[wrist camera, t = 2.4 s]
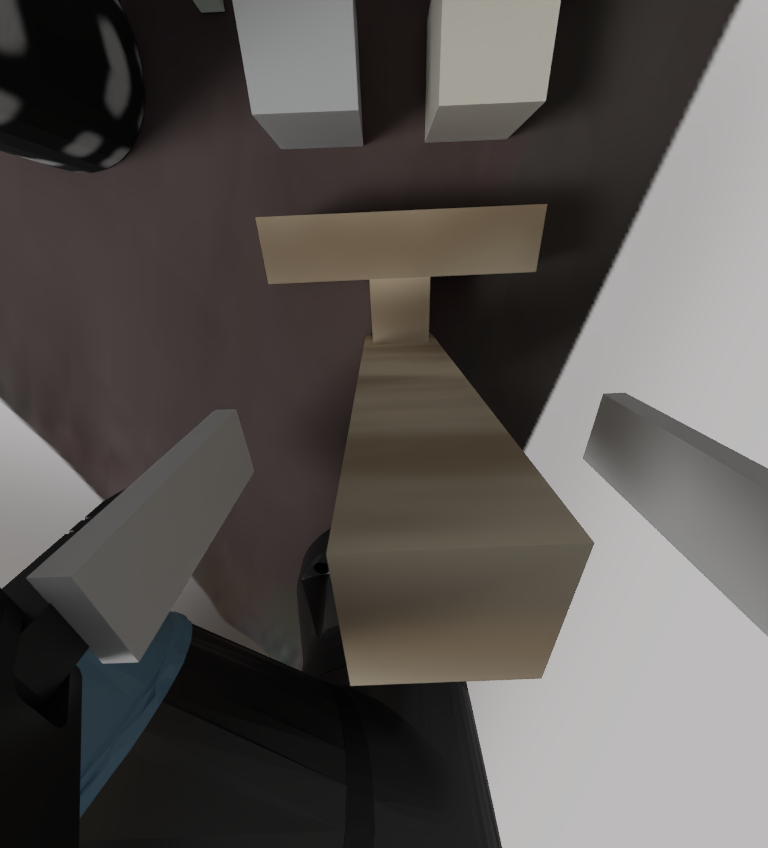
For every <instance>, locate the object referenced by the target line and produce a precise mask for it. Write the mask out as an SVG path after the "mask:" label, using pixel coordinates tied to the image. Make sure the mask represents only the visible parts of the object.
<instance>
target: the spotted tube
mask: <svg viewBox="0 0 768 848" xmlns="http://www.w3.org/2000/svg"><path fill="white" fill-rule="evenodd" d="M143 110H144V83H143V74H142V66H141V62H140V58H139V54H138V50H137V46H136V42H135V39H134V36H133V34H132V31H131V28H130V26H129V23H128V20H127V18H126V15H125V13H124V11H123V9H122V7H121V5H120V3H119V1H118V0H0V151H3V152H7V153H10V154H13V155H17V156H20V157H23V158H26V159H30V160H33V161H36V162H40V163H43V164H46V165H49V166H53V167H56V168H60V169H64V170H68V171H72V172H89V173H92V172H96V171H100V170H104V169H107V168H109V167H111V166H112V165H114V164H116V163H118V162H119V161H120V160H121V159H122V158H123V157H124V156H125V155H126V154H127V153H128V152H129V151H130V150H131V148H132V146H133V144H134V142H135V140H136V138H137V136H138V134H139V130H140V126H141V122H142V118H143Z"/></svg>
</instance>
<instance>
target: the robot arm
mask: <svg viewBox="0 0 768 848" xmlns="http://www.w3.org/2000/svg"><path fill="white" fill-rule="evenodd" d="M583 459H584V460H585V461H586V462H587V463H588V464H589V465H590V466H591V467H593V468H594V469H595V470H596V471H597V472H598V473H599V474H600V475H601V476H602V477H603V478H604V479H605V480H606V481H607V482H608V483H609V484H610V485H611V486H612V487H613V488H614V489H615V490H616V491H617V492H618V493H620V494H621V495H622V496H623V497H624V498H625V499H626V500H627V501H628V502H629V503H630V504H631V505H632V506H633V507H634V508H635V509H636V510H637V511H638V512H639V513H640V514H641V515H642V516H643V517H644V518H646V520H648V521H649V522H650V523H651V524H652V525H653V526H654V527H655V528H656V529H657V530H658V531H659V532H660V533H661V534H662V535H663V536H664V537H665V538H666V539H667V540H668V541H669V542H670V543H671V544H672V545H673V546H675V547H676V548H677V549H678V550H679V551H680V552H681V553H682V554H683V555H684V556H685V557H686V558H687V559H688V560H689V561H690V562H691V563H692V564H693V565H694V566H696V568H697V569H698V570H699V571H701V572H702V573H703V574H704V575H705V576H706V577H707V578H708V579H709V580H710V581H711V582H712V583H713V584H714V585H715V586H716V587H717V588H718V589H719V590H720V591H721V592H722V593H723V594H724V595H725V596H727V598H729V599H730V600H731V601H732V602H733V603H734V604H735V605H736V606H737V607H738V608H739V609H740V610H741V611H742V612H743V613H744V614H745V615H746V616H747V617H748V618H749V619H751V621H752V622H753V623H754V624H756V625H757V626H758V627H759V628H760V629H761V630H762V631H763V632H764V633H765V634H766V635H767V636H768V469H767V468H766V467H764V466H762V465H760V464H758V463H756V462H754V461H752V460H750V459H748V458H747V457H745V456H743V455H741V454H739V453H737V452H735V451H734V450H732V449H730V448H728V447H726V446H724V445H722V444H720V443H718V442H717V441H715V440H713V439H710V438H709V437H707V436H705V435H703V434H701V433H699V432H698V431H696V430H694V429H692V428H690V427H688V426H686V425H684V424H683V423H681V422H679V421H677V420H675V419H673V418H671V417H669V416H668V415H666V414H664V413H662V412H660V411H658V410H656V409H654V408H652V407H650V406H649V405H647V404H645V403H643V402H641V401H639V400H637V399H636V398H634V397H631V396H630V395H628V394H626V393H613V394H603V397H602V400H601V403H600V406H599V409H598V413H597V416H596V419H595V422H594V425H593V429H592V431H591V435H590V438H589V441H588V444H587V447H586V451H585V454H584V457H583ZM253 473H254V469H253V465H252V462H251V458H250V455H249V452H248V448H247V445H246V441H245V438H244V435H243V431H242V428H241V424H240V421H239V417H238V414H237V411H236V409H226V410H214V411H213V412H212V413H211V414H210V415H209V416H208V417H206V418H205V419H204V420H203V421H202V422H201V423H200V424H199V425H197V426H196V427H195V428H194V429H193V430H192V431H191V432H190V433H188V434H187V435H186V436H185V437H184V438H183V439H182V440H181V441H179V442H178V443H177V444H176V445H175V446H174V447H173V448H172V449H170V450H169V451H168V452H167V453H166V454H165V455H164V456H163V457H161V458H160V459H159V460H158V461H157V462H156V463H155V464H154V465H152V466H151V467H150V468H149V469H148V470H147V471H146V472H145V473H143V474H142V475H141V476H140V477H139V478H138V479H137V480H136V481H134V482H133V483H132V484H131V485H130V486H129V487H128V488H126V489H124V490H122V491H120V492H119V493H117V494H115V495H114V496H112V497H110V498H109V499H107V500H105V501H103V502H102V503H101V504H100V505H99V506H98V507H96V508H95V509H94V510H93V511H92V512H91V513H89V514H88V515H87V516H86V517H85V520H82V521H80V522H79V523H78V524H77V525H76V526H74V527H73V528H72V529H71V530H70V533H69V534H65V535H64V536H63V537H62V538H60V539H59V540H58V541H57V542H56V543H55V544H53V545H52V546H51V547H50V548H49V549H48V550H47V551H46V552H44V553H43V554H42V555H41V556H39V557H38V558H37V559H36V560H35V561H34V562H33V563H31V564H30V565H29V566H28V567H27V568H26V569H24V570H23V571H22V572H21V573H20V574H19V575H18V576H16V577H15V578H14V579H13V580H12V581H10V582H9V583H8V584H7V585H6V586H5V587H3V588H2V589H1V588H0V848H502V846H501V841H500V836H499V832H498V827H497V823H496V818H495V813H494V808H493V804H492V799H491V794H490V790H489V786H488V780H487V776H486V771H485V766H484V762H483V757H482V752H481V748H480V743H479V738H478V734H477V729H476V724H475V720H474V715H473V710H472V706H471V701H470V697H469V693H468V688H467V684H466V681H462V682H437V683H411V684H386V685H361V686H350V681H349V675H348V670H347V664H346V659H345V653H344V648H343V643H342V637H341V632H340V626H339V621H338V615H337V610H336V605H335V599H334V594H333V588H332V583H331V577H330V572H329V567H328V561H327V556H326V553H327V547H328V541H329V536H330V530H331V529H330V530H329V531H327V532H325V533H324V534H323V535H321V536H320V537H319V538H318V539H317V540H316V541H315V542H314V543H313V544H312V545H311V546H310V548H309V549H308V551H307V552H306V554H305V557H304V559H303V563H302V567H301V571H300V575H299V579H298V584H297V600H298V612H299V623H300V635H301V646H302V658H303V665H302V671H299V670H297V669H295V668H293V667H290V666H288V665H286V664H283V663H281V662H279V661H277V660H274V659H272V658H270V657H267V656H265V655H263V654H260V653H258V652H256V651H254V650H251V649H249V648H247V647H244V646H242V645H240V644H237V643H235V642H233V641H231V640H228V639H226V638H223V637H222V636H219V635H217V634H214V633H212V632H210V631H208V630H205V629H203V628H201V627H199V626H196V625H194V624H192V623H191V621H189V620H188V619H187V617H186V616H185V615H183V614H180V613H177V612H171V611H170V610H171V608H172V607H173V605H174V603H175V602H176V600H177V598H178V597H179V595H180V594H181V592H182V590H183V588H184V587H185V585H186V584H187V582H188V580H189V578H190V577H191V575H192V574H193V572H194V570H195V569H196V567H197V565H198V564H199V562H200V560H201V559H202V557H203V555H204V554H205V552H206V550H207V549H208V547H209V546H210V544H211V542H212V541H213V539H214V537H215V536H216V534H217V532H218V531H219V529H220V527H221V526H222V524H223V522H224V521H225V519H226V517H227V516H228V514H229V512H230V511H231V509H232V507H233V506H234V504H235V502H236V501H237V499H238V498H239V496H240V494H241V493H242V491H243V489H244V488H245V486H246V484H247V483H248V481H249V479H250V478H251V476H252V474H253Z"/></svg>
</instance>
